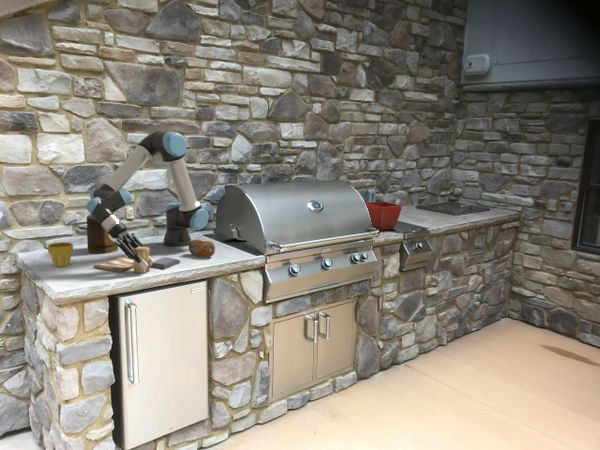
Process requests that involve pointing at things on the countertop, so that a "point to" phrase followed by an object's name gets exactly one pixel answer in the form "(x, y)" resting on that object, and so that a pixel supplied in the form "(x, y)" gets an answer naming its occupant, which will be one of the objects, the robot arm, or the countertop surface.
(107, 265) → the print board
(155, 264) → the pad
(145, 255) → the wooden block
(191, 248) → the brown oval lump
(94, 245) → the wooden container
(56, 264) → the plant pot
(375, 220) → the plant pot
